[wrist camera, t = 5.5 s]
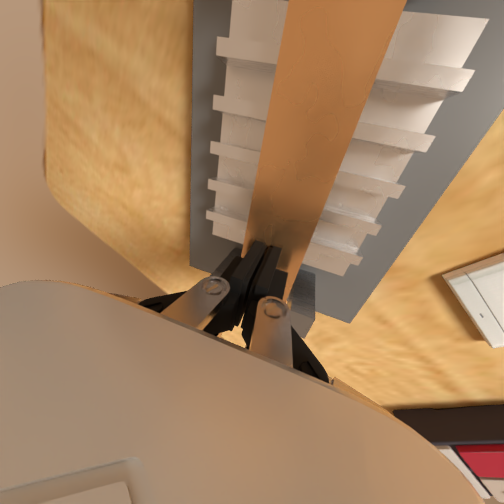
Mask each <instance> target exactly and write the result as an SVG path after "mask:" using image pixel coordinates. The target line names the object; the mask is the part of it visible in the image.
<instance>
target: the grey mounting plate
mask: <svg viewBox="0 0 504 504" xmlns="http://www.w3.org/2000/svg"><path fill="white" fill-rule="evenodd" d="M284 1H289V0H284ZM231 10H232V0H194V8H193V74H192V140H191V206H190V266H192V267H195V268H197V269H200V270H203V271H206V272H208V273H211V274H212V273H213V272H214V271H215V270H216V268H217V267H218V266H219V265H220V264H221V263H222V261H223V260H224V259H225V258H226V257H227V256H228V255H229V253H230V252H231V251H232V250H233V249H234V248H238V249H241V250H242V248H243V244H241V243H238V242H235V241H232V240H228V239H225V238H222V237H219V236H216V235H213V234H212V233H213V221H212V220H209V219H206V210H208V209H210V208H212V207H214V206H215V198H216V191H214V190H210V189H208V179H209V178H213V177H217V174H218V163H219V155H216V154H212V153H210V144H211V141H217V142H220V139H221V127H222V116H223V114H222V113H220V112H218V111H215V110H213V95H219V96H224V92H225V80H226V69H227V65H226V64H224V63H223V62H222V61H221V60H220V59H219V58H218V57H217V56H216V47H217V36H218V37H226V38H229V33H230V22H231ZM403 11H407V12H418V13H429V14H440V15H451V16H462V17H473V18H485V19H489V21H488V22H487V24H486V26H485V28H484V30H483V31H482V33H481V35H480V37H479V38H478V40H477V42H476V44H475V45H474V47H473V49H472V51H471V52H470V54H469V56H468V58H467V59H466V61H465V63H464V65H463V66H462V68H464V69H471V70H475V72H474V73H473V75H472V77H471V78H470V80H469V82H468V83H467V85H466V87H465V88H464V90H463V92H461V93H459V94H456V95H454V96H451V97H449V98H447V99H444V100H443V102H442V103H441V105H440V107H439V109H438V110H437V112H436V114H435V116H434V117H433V119H432V121H431V123H430V124H429V126H428V128H427V130H426V131H425V133H424V134H427V135H433V136H436V137H435V138H434V140H433V142H432V143H431V145H430V147H429V148H428V150H427V152H426V153H413V154H412V156H411V158H410V160H409V161H408V163H407V165H406V167H405V168H404V170H403V172H402V174H401V175H400V177H399V179H398V181H397V182H396V183H399V184H401V185H404V186H406V187H405V188H404V190H403V192H402V193H401V195H400V197H399V198H398V199H396V198H392V197H388V198H387V200H386V202H385V203H384V205H383V207H382V209H381V210H380V212H379V214H378V216H377V218H376V219H377V221H378V222H379V223H380V224H381V225H382V227H381V228H380V230H379V232H378V233H377V235H376V236H375V235H371V234H368V233H367V235H366V237H365V239H364V240H363V242H362V244H361V246H360V247H359V249H360V252H361V254H362V256H363V258H362V260H361V262H360V263H359V265H358V266H357V265H354V264H351V263H350V265H349V267H348V268H347V270H346V272H345V274H344V275H343V276H340V275H337V274H334V273H331V272H328V271H324V270H321V269H318V268H315V267H312V266H309V265H306V264H303V263H301V266H300V268H299V269H302V270H305V271H308V272H311V273H314V274H315V311H316V312H319V313H322V314H325V315H327V316H330V317H333V318H336V319H339V320H341V321H344V322H347V323H351V321H352V320H353V318H354V317H355V316H356V314H357V313H358V311H359V310H360V309H361V307H362V306H363V305H364V303H365V302H366V300H367V299H368V298H369V296H370V295H371V293H372V292H373V291H374V289H375V288H376V286H377V285H378V284H379V282H380V281H381V279H382V278H383V277H384V275H385V274H386V272H387V271H388V270H389V268H390V267H391V265H392V264H393V263H394V261H395V260H396V258H397V257H398V256H399V254H400V253H401V251H402V250H403V249H404V247H405V246H406V244H407V243H408V242H409V240H410V239H411V237H412V236H413V235H414V233H415V232H416V230H417V229H418V228H419V226H420V225H421V223H422V222H423V221H424V219H425V218H426V216H427V215H428V214H429V212H430V211H431V209H432V208H433V207H434V205H435V204H436V203H437V201H438V200H439V198H440V197H441V196H442V194H443V193H444V191H445V190H446V189H447V187H448V186H449V184H450V183H451V182H452V180H453V179H454V177H455V176H456V175H457V173H458V172H459V170H460V169H461V168H462V166H463V165H464V163H465V162H466V161H467V159H468V158H469V156H470V155H471V154H472V152H473V151H474V149H475V148H476V147H477V145H478V144H479V142H480V141H481V140H482V138H483V137H484V135H485V134H486V133H487V131H488V130H489V128H490V127H491V126H492V124H493V123H494V121H495V120H496V119H497V117H498V116H499V114H500V113H501V112H502V110H503V109H504V0H407V1H406V4H405V6H404V9H403ZM288 297H289V296H288ZM287 301H288V298H287Z"/></svg>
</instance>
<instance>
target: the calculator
mask: <svg viewBox="0 0 504 504" xmlns="http://www.w3.org/2000/svg"><path fill="white" fill-rule="evenodd" d="M393 413H394V416H395V417H396V418H397V419H399V420H400V421H402V422H403V423H405V424H406V425H408V426H409V427H411V428H412V429H413V430H415V431H416V432H417V433H419V434H420V435H421V436H422V437H424V438H425V439H426V440H427V441H429V442H430V443H431V444H432V445H434V446H435V447H436V448H437V449H438V450H439V451H440V452H442V453H443V454H444V455H445V456H446V457H447V458H448V459H449V460H450V461H451V462H452V463H453V464H454V465H455V466H456V467H457V468H458V469H459V470H460V471H461V472H462V473H463V474H464V476H465V477H466V478H467V479H468V480H469V481H470V483H471V484H472V485H473V487H474V488H475V489H476V491H477V492H478V494H479V495H480V496H481V498H490V496H494V497H495V498H496V500H497V501H499V502H504V404H503V405H485V406H471V407H461V408H451V409H441V410H435V409H432V408H424V409H405V410H394V411H393Z"/></svg>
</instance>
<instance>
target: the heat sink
mask: <svg viewBox="0 0 504 504" xmlns="http://www.w3.org/2000/svg"><path fill="white" fill-rule="evenodd" d="M288 2H289V1H284V0H232V10H231V22H230V33H229V38H226V37H218V36H217V47H216V56H217V57H218V58H219V59H220V60H221V61H222V62H223V63H224V64H226V65H227V69H226V80H225V92H224V96H219V95H213V110H215V111H218V112H220V113H222V114H223V116H222V127H221V139H220V142H217V141H211V144H210V153H212V154H216V155H219V163H218V174H217V177H213V178H209V179H208V189H210V190H214V191H216V198H215V206H214V207H212V208H210V209H208V210H206V219H209V220H212V221H213V233H212V234H213V235H216V236H219V237H222V238H225V239H228V240H232V241H235V242H238V243H241V244H243V243H244V238H245V232H246V227H247V222H248V216H249V211H250V206H251V200H252V195H253V190H254V184H255V179H256V174H257V168H258V163H259V157H260V152H261V147H262V141H263V136H264V131H265V125H266V120H267V115H268V109H269V104H270V99H271V93H272V88H273V83H274V77H275V72H276V67H277V61H278V56H279V51H280V45H281V40H282V34H283V29H284V24H285V18H286V13H287V8H288ZM488 21H489V19H485V18H473V17H462V16H451V15H440V14H429V13H418V12H407V11H402V14H401V16H400V19H399V21H398V24H397V26H396V29H395V31H394V34H393V36H392V39H391V41H390V44H389V46H388V49H387V51H386V54H385V56H384V59H383V61H382V64H381V66H380V69H379V71H378V74H377V76H376V79H375V81H374V84H373V86H372V89H371V91H370V94H369V96H368V99H367V101H366V104H365V106H364V109H363V111H362V114H361V116H360V119H359V121H358V124H357V126H356V129H355V131H354V134H353V136H352V139H351V141H350V144H349V146H348V149H347V151H346V154H345V156H344V159H343V161H342V164H341V166H340V169H339V171H338V174H337V176H336V179H335V181H334V184H333V186H332V189H331V191H330V194H329V196H328V199H327V201H326V204H325V206H324V208H323V211H322V213H321V216H320V218H319V221H318V223H317V226H316V228H315V231H314V233H313V236H312V238H311V241H310V243H309V246H308V248H307V251H306V253H305V256H304V258H303V261H302V263H303V264H306V265H309V266H312V267H315V268H318V269H321V270H324V271H328V272H331V273H334V274H337V275H340V276H343V275H344V274H345V272H346V270H347V268H348V267H349V265H350V263H351V264H354V265H357V266H358V265H359V263H360V262H361V260H362V258H363V256H362V254H361V252H360V249H359V247H360V246H361V244H362V242H363V240H364V239H365V237H366V235H367V233H368V234H371V235H375V236H376V235H377V233H378V232H379V230H380V228H381V227H382V225H381V224H380V223H379V222H378V221H377V219H376V218H377V216H378V214H379V212H380V210H381V209H382V207H383V205H384V203H385V202H386V200H387V198H388V197H392V198H396V199H398V198H399V197H400V195H401V193H402V192H403V190H404V188H405V187H406V186H404V185H401V184H399V183H396V182H397V181H398V179H399V177H400V175H401V174H402V172H403V170H404V168H405V167H406V165H407V163H408V161H409V160H410V158H411V156H412V154H413V153H426V152H427V150H428V148H429V147H430V145H431V143H432V142H433V140H434V138H435V137H436V136H433V135H427V134H424V133H425V131H426V130H427V128H428V126H429V124H430V123H431V121H432V119H433V117H434V116H435V114H436V112H437V110H438V109H439V107H440V105H441V103H442V102H443V100H444V99H447V98H449V97H451V96H454V95H456V94H459V93H461V92H463V90H464V88H465V87H466V85H467V83H468V82H469V80H470V78H471V77H472V75H473V73H474V72H475V70H471V69H464V68H462V66H463V65H464V63H465V61H466V59H467V58H468V56H469V54H470V52H471V51H472V49H473V47H474V45H475V44H476V42H477V40H478V38H479V37H480V35H481V33H482V31H483V30H484V28H485V26H486V24H487V22H488ZM241 254H242V250H241V249H238V248H234V249H233V250H232V251H231V252H230V253H229V255H228V256H227V257H226V258H225V259H224V260H223V261H222V263H221V264H220V265H219V266H218V267H217V268H216V270H215V271H214V272H213V273H212V274H211V275H210V277H211V276H216V277H220V276H221V275H222V273H223V272H224V271H225V270H226V268H227V267H228V266H229V264H230V263H231V262H232V261H233V259H234V258H235V257H236V256H240V257H241ZM287 305H288V307H289V309H290V317H291V326H292V327H293V328H294V329H295V331H296V332H297V333H298V335H299V336H300V337H302V338H304V339H305V337H306V335H307V333H308V331H309V330H310V328H311V326H312V324H313V322H314V321H315V274H314V273H311V272H308V271H305V270H302V269H299V271H298V273H297V276H296V278H295V281H294V283H293V286H292V288H291V291H290V293H289V297H288V302H287Z"/></svg>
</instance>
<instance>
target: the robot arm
mask: <svg viewBox="0 0 504 504" xmlns="http://www.w3.org/2000/svg"><path fill="white" fill-rule="evenodd" d="M266 249H267V246H265V245H264V243H263V242H260V241H257V240H255V242H254V243H253V245H252V246H251V248H250V249H249V251H248V252H247V253H246V255H245V256H244V258H243V257H240V256H236V257H235V258H234V259H233V261H232V262H231V263H230V264H229V266H228V267H227V268H226V270H225V271H224V272H223V273H222V275H221V276H220V277H216V276H211V277H206V278H204V279H202V280H201V281H200V282H198V283H197V284H196V285H195V286H193V287H192V288H191V289H190V290H188V291H184V292H179V293H174V294H169V295H164V296H159V297H154V298H149V299H146V300H144V301H141V298H136V297H130V296H124V295H118V294H112V293H107V292H104V291H101V290H98V289H94V288H91V287H88V286H84V285H80V284H76V283H70V282H64V281H51V280H34V281H33V280H32V281H23V282H17V283H13V284H9V285H6V286H3V287H0V504H485V502H484V501H483V499H482V498H481V496H480V495H479V494H478V492H477V491H476V489H475V488H474V487H473V485H472V484H471V483H470V481H469V480H468V479H467V478H466V477H465V476H464V474H463V473H462V472H461V471H460V470H459V469H458V468H457V467H456V466H455V465H454V464H453V463H452V462H451V461H450V460H449V459H448V458H447V457H446V456H445V455H444V454H443V453H442V452H440V451H439V450H438V449H437V448H436V447H435V446H434V445H432V444H431V443H430V442H429V441H427V440H426V439H425V438H424V437H422V436H421V435H420V434H419V433H417V432H416V431H415V430H413V429H412V428H411V427H409V426H408V425H406V424H405V423H403V422H402V421H400V420H399V419H397V418H396V417H395V416H393V415H392V414H391V413H390V412H389V411H387V410H386V409H384V408H383V407H381V406H380V405H378V404H377V403H375V402H373V401H372V400H370V399H369V398H367V397H366V396H364V395H363V394H361V393H359V392H358V391H356V390H355V389H353V388H352V387H350V386H348V385H347V384H345V383H344V382H342V381H341V380H339V379H337V378H336V377H334V378H333V379H332V378H331V377H329V376H328V375H327V373H326V371H325V369H324V368H323V366H322V365H321V364H320V362H319V361H318V360H317V358H316V357H315V356H314V354H313V353H312V352H311V350H310V349H309V348H308V347H307V345H306V344H305V343H304V341H303V340H302V339H301V337H300V336H299V335H298V333H297V332H296V331H295V329H294V328H293V327H292V326H291V317H290V309H289V307H288V305H287V304H286V303H285V302H284V301H283V296H284V291H285V286H286V282H287V277H288V272H285V271H282V270H279V269H276V267H277V263H278V260H279V257H280V254H281V251H282V248H279V247H276V246H273V248H272V247H269V249H268V251H267V253H266V255H265V252H266ZM264 256H265V257H264ZM243 314H244V316H243ZM242 316H243V320H242V324H241V328H243V331H242V337H243V339H244V341H245V343H246V346H245V348H243V347H241V346H238V345H236V344H233V343H231V342H229V341H226V340H224V339H221V338H220V337H221V335H222V332H225V331H228V330H230V331H232V330H233V328H234V325H235V326H238V325H239V323H240V321H241V319H242Z"/></svg>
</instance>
